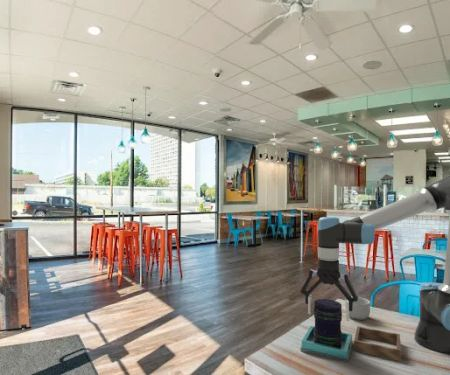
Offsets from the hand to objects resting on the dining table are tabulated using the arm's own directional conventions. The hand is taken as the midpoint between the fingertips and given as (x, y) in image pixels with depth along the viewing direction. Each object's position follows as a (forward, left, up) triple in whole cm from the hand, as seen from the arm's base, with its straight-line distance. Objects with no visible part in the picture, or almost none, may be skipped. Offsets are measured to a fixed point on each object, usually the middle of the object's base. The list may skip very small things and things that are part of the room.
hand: (328, 316), depth 117 cm
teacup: (-7, -39, -12) cm, 41 cm away
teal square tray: (0, 0, -11) cm, 11 cm away
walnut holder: (-16, -9, -11) cm, 22 cm away
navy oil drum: (0, 0, -10) cm, 10 cm away
